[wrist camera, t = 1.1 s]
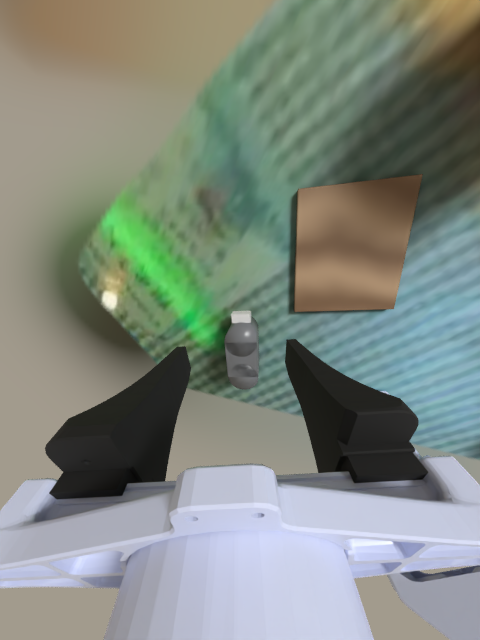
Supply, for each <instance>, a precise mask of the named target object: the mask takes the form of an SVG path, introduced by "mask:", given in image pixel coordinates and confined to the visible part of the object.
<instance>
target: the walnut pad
mask: <svg viewBox="0 0 480 640" xmlns="http://www.w3.org/2000/svg"><path fill="white" fill-rule="evenodd" d="M422 175H423V174H420V175H412V176H404V177H395V178H387V179H378V180H370V181H361V182H353V183H345V184H336V185H328V186H319V187H311V188H302V189H298V191H297V219H296V253H295V287H294V311H295V312H303V311H338V310H374V309H394V305H395V301H396V296H397V292H398V287H399V282H400V278H401V273H402V268H403V264H404V259H405V254H406V250H407V245H408V240H409V236H410V231H411V226H412V222H413V217H414V212H415V208H416V203H417V198H418V194H419V189H420V184H421V180H422Z"/></svg>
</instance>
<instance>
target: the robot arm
mask: <svg viewBox="0 0 480 640" xmlns="http://www.w3.org/2000/svg"><path fill="white" fill-rule="evenodd" d="M285 363H286V368H287V371H288V375H289V378H290V380H291V383H292V385H293V388H294V390H295V393H296V395H297V398H298V400H299V403H300V405H301V408H302V411H303V415H304V418H305V422H306V425H307V429H308V433H309V436H310V440H311V444H312V448H313V452H314V456H315V460H316V464H317V468H318V473H310V474H293V475H292V474H291V475H275V473H274V471H273V470H272V469H271V468H269V467H267V466H265V465H261V464H235V465H217V466H200V467H193V468H188V469H186V470H185V471H183V472H182V473H180V474H179V475H178V477H177V481H165V478H166V471H167V464H168V459H169V454H170V448H171V443H172V438H173V433H174V428H175V424H176V420H177V415H178V412H179V409H180V406H181V403H182V400H183V397H184V394H185V391H186V388H187V385H188V381H189V377H190V371H191V367H190V363H189V359H188V355H187V351H186V347H185V346H184V347H176V348H175V349H174V350H173V351H172V352H171V353H170V354H169V355H168V356H167V357H165V358H164V359H163V360H162V361H161V362H160V363H159V364H158V365H157V366H156V367H154V368H153V369H152V370H151V371H150V372H148V373H147V374H146V375H145V376H144V377H142V378H141V379H139V380H138V381H137V382H135V383H134V384H132V385H131V386H130V387H128V388H126V389H125V390H123V391H122V392H120V393H118V394H117V395H115V396H113V397H112V398H110V399H108V400H107V401H105V402H103V403H101V404H99V405H97V406H95V407H93V408H91V409H89V410H87V411H85V412H82V413H80V414H78V415H76V416H74V417H71V418H69V419H68V420H67V421H66V422H65V423H64V425H63V426H62V427H61V428H60V429H59V430H58V432H57V433H56V434H55V435H54V437H52V439H51V440H50V441H49V442H48V443H47V445H46V447H45V450H46V454H47V456H48V457H49V458H50V459H51V460H52V461H53V462H54V463H55V464H56V465H57V466H58V467H59V468H60V469H61V470H62V471H63V474H62V475H61V477H60V478H59V480H56V479H51V478H46V479H28V480H26V481H24V483H23V484H22V485H21V486H20V488H19V489H18V490H17V491H16V493H15V494H14V495H13V496H12V497H11V499H10V500H9V501H8V502H7V503H6V505H5V506H4V507H3V508H2V509H1V511H0V588H17V587H79V588H119V593H118V596H117V599H116V602H115V605H114V608H113V611H112V615H111V617H110V621H109V624H108V627H107V630H106V633H105V636H104V640H374V639H373V636H372V633H371V630H370V627H369V624H368V621H367V618H366V615H365V612H364V609H363V605H362V603H361V600H360V596H359V593H358V591H357V587H356V585H355V582H354V578H361V577H369V576H378V575H385V574H387V576H388V578H389V580H390V582H391V584H392V586H393V588H394V590H395V591H396V592H397V594H398V596H399V598H400V600H401V601H402V602H403V603H404V604H405V605H406V606H407V607H408V608H410V609H411V610H412V611H414V612H415V613H416V614H417V615H419V616H420V617H421V618H423V619H424V620H425V621H426V622H428V623H429V624H430V625H432V626H433V627H434V628H435V629H437V630H438V631H439V632H440V633H442V634H443V635H444V636H446V637H447V638H449V639H450V640H480V485H479V484H478V483H477V482H476V481H475V480H474V478H473V477H472V476H471V475H470V474H469V473H468V472H467V471H466V470H465V469H464V468H463V467H462V466H461V465H460V463H458V461H457V460H456V459H455V458H454V457H452V456H439V457H430V456H428V455H426V456H424V457H423V458H422V457H421V456H420V455H419V453H418V452H417V451H416V449H415V448H414V447H413V445H412V444H411V443H410V442H409V440H410V439H411V437H412V435H413V434H414V432H415V431H416V429H417V426H418V418H417V416H416V415H415V414H414V413H413V412H412V411H411V409H410V408H409V407H408V406H407V405H406V404H405V403H404V402H403V401H402V400H401V399H400V398H397V397H394V396H391V395H389V394H388V393H387V392H386V391H378V390H375V389H373V388H371V387H368V386H366V385H364V384H361V383H359V382H357V381H355V380H353V379H351V378H349V377H347V376H345V375H344V374H342V373H340V372H338V371H337V370H335V369H333V368H332V367H330V366H329V365H327V364H326V363H324V362H323V361H321V360H320V359H319V358H317V357H316V356H315V355H314V354H312V353H311V352H310V351H309V350H307V349H306V348H305V347H304V346H303V345H302V344H300V343H299V342H298V341H297V340H296V339H291V340H287V343H286V358H285ZM476 565H477V566H476ZM460 566H472V567H466V568H461V569H456V570H451V571H446V572H440V573H435V574H426V573H422V572H420V571H419V570H428V569H437V568H449V567H460Z"/></svg>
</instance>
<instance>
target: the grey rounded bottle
mask: <svg viewBox="0 0 480 640" xmlns="http://www.w3.org/2000/svg"><path fill="white" fill-rule="evenodd" d="M231 317H232V324H231V326H230V328H229V330H228V332H227V334H226V336H225V352H226V361H227V370H228V378H229V381H230V383H231V384H232V385H233V386H235V387H236V388H239V389H250V388H252V387H254V386H255V385H256V384H257V382H258V373H259V336H258V324H257V322H256V320H255V319H254V318H253V317H251V311H233V312H232V314H231Z"/></svg>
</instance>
